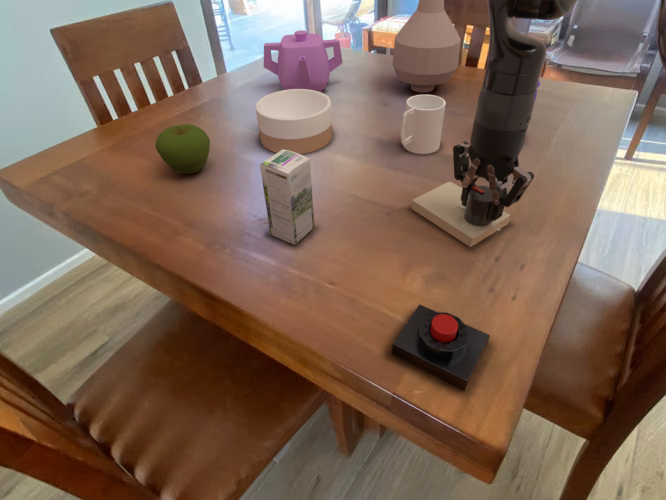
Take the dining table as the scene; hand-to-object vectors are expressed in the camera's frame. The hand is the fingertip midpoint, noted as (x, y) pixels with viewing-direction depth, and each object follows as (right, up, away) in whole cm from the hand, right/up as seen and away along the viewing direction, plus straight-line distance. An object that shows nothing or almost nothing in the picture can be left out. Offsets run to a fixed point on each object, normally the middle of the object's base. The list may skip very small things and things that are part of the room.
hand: (479, 211), depth 74 cm
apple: (-56, +11, +20) cm, 60 cm away
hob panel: (-2, 0, +5) cm, 5 cm away
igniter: (-11, -20, -17) cm, 28 cm away
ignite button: (-11, -17, -19) cm, 28 cm away
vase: (+1, +40, +50) cm, 64 cm away
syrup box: (-32, -4, +3) cm, 32 cm away
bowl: (-34, +20, +30) cm, 49 cm away
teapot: (-33, +41, +53) cm, 75 cm away
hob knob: (0, -1, +1) cm, 1 cm away
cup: (-6, +16, +24) cm, 30 cm away
